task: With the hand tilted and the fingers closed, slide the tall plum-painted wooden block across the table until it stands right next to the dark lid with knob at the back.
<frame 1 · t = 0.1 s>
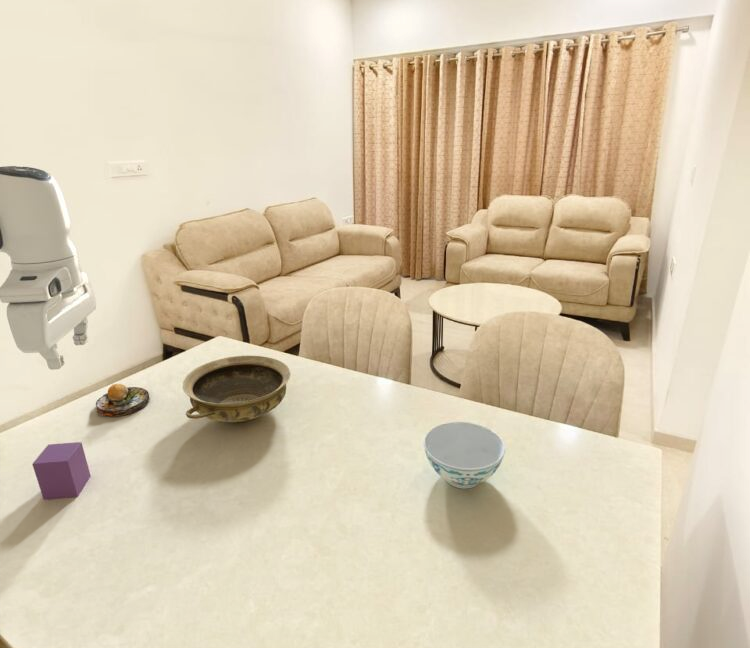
hand: (70, 355, 83), 28 cm above the table, tool pointing down, fingers open, 8 cm apart
block: (67, 487, 95), on the table
chinaware: (461, 478, 97), on the table
ceramic bowl: (242, 414, 119), on the table
dark lid with knob: (123, 405, 124), on the table
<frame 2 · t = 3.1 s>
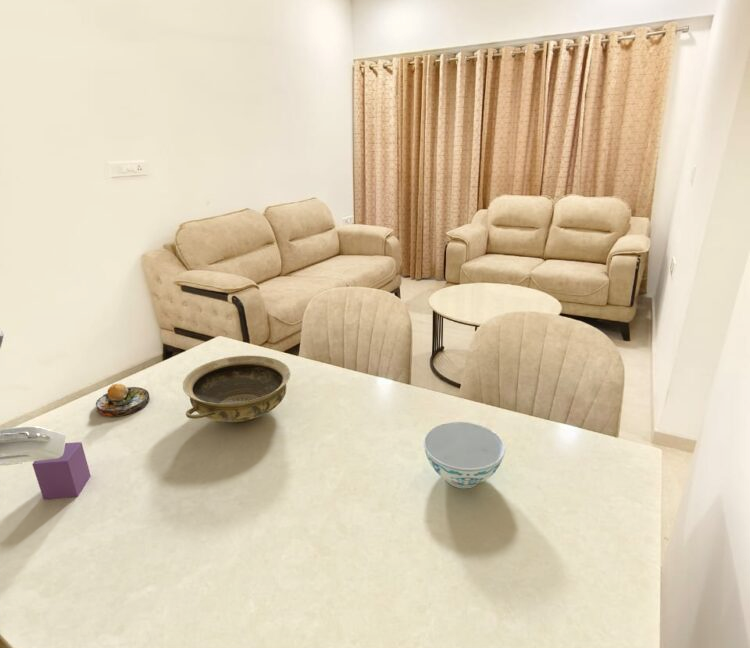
hand: (14, 459, 79), 15 cm above the table, tool tilted 45°, fingers closed
nothing on the table moved.
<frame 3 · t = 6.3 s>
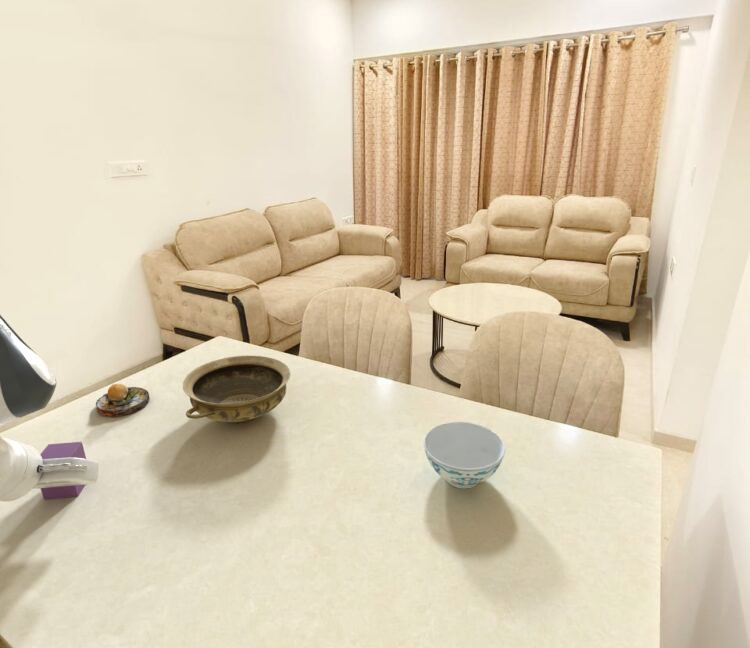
hand: (53, 481, 90), 4 cm above the table, tool tilted 45°, fingers closed, pressing on block
block: (68, 487, 95), on the table, touching gripper
everything else where it was.
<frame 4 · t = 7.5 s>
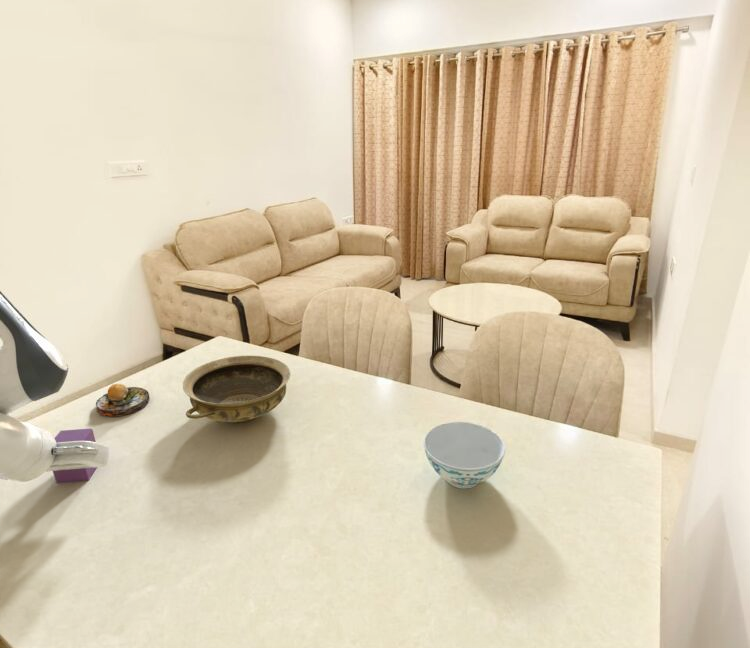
hand: (65, 465, 95), 4 cm above the table, tool tilted 45°, fingers closed, pressing on block
block: (79, 471, 100), on the table, touching gripper
everything else where it was.
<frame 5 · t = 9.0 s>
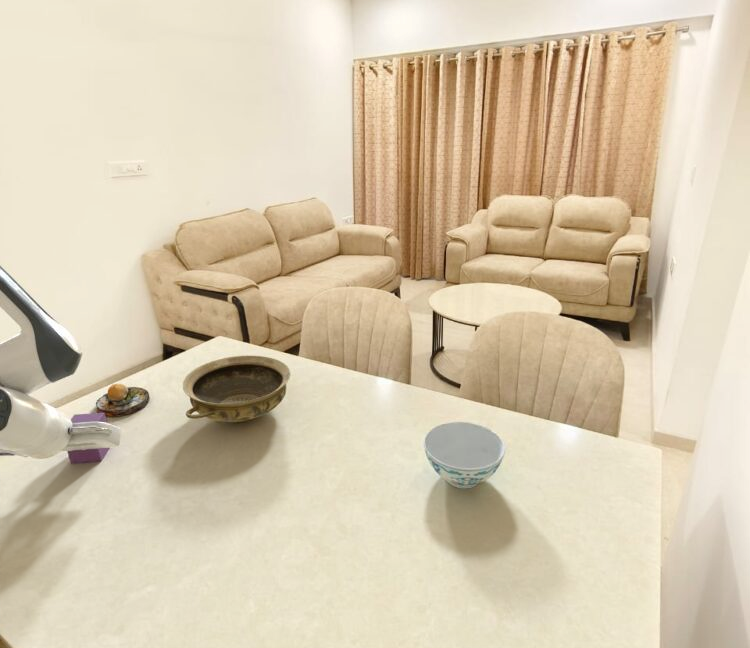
hand: (79, 446, 100), 4 cm above the table, tool tilted 45°, fingers closed, pressing on block
block: (92, 453, 105), on the table, touching gripper
everything else where it was.
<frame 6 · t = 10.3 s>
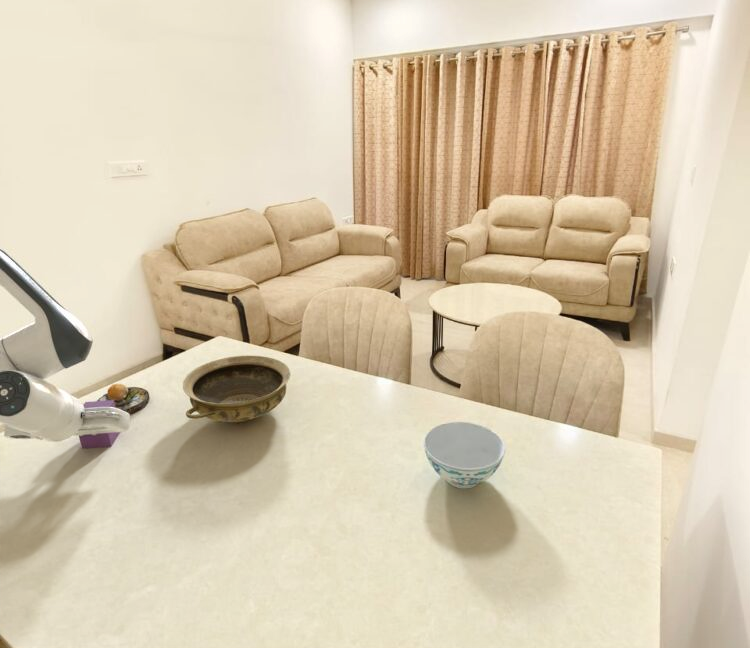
hand: (89, 431, 105), 4 cm above the table, tool tilted 45°, fingers closed, pressing on block
block: (102, 439, 110), on the table, touching gripper
everything else where it was.
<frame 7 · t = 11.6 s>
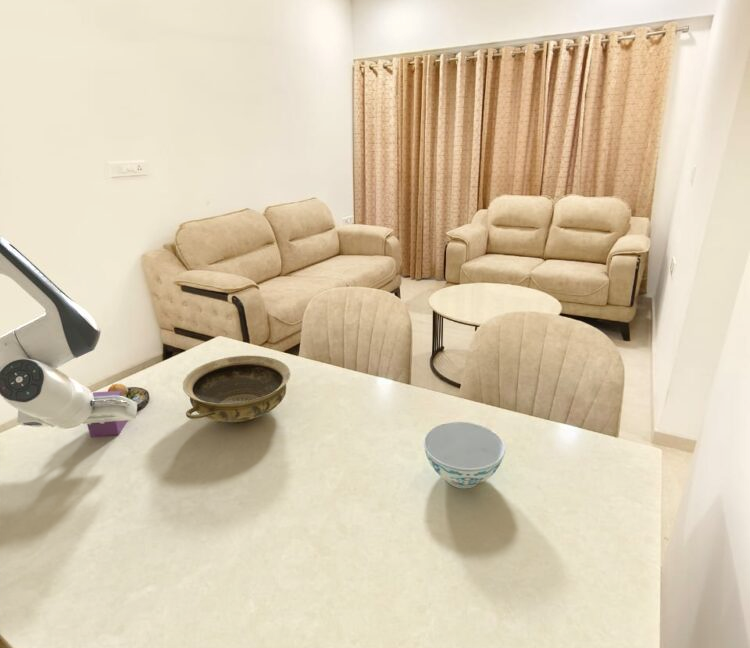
hand: (97, 420, 109), 4 cm above the table, tool tilted 45°, fingers closed, pressing on block
block: (109, 428, 114), on the table, touching gripper
everything else where it was.
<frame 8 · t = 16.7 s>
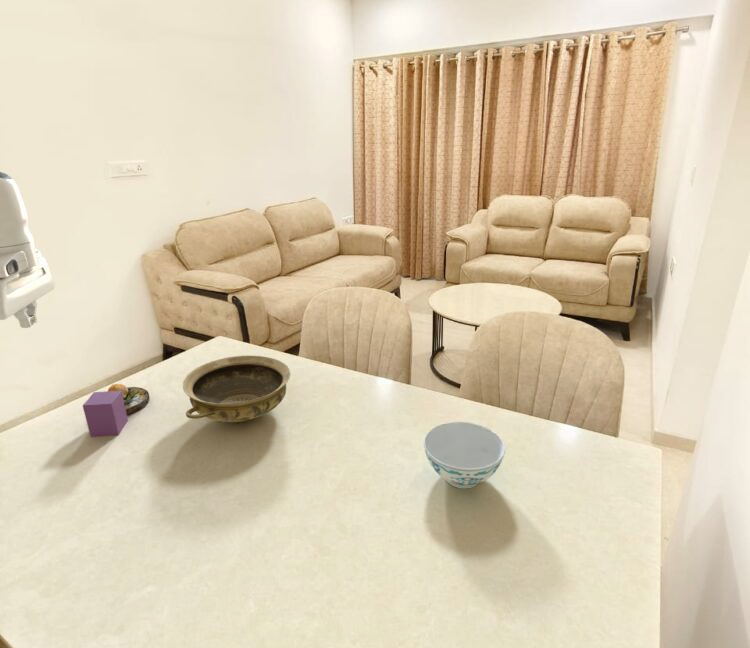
hand: (29, 325, 100), 27 cm above the table, tool pointing down, fingers closed
block: (109, 428, 114), on the table
everything else where it was.
at the end: block 10.7 cm from the dark lid with knob (horizontally); block tilted 0°; dark lid with knob moved 0.2 cm from its start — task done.
